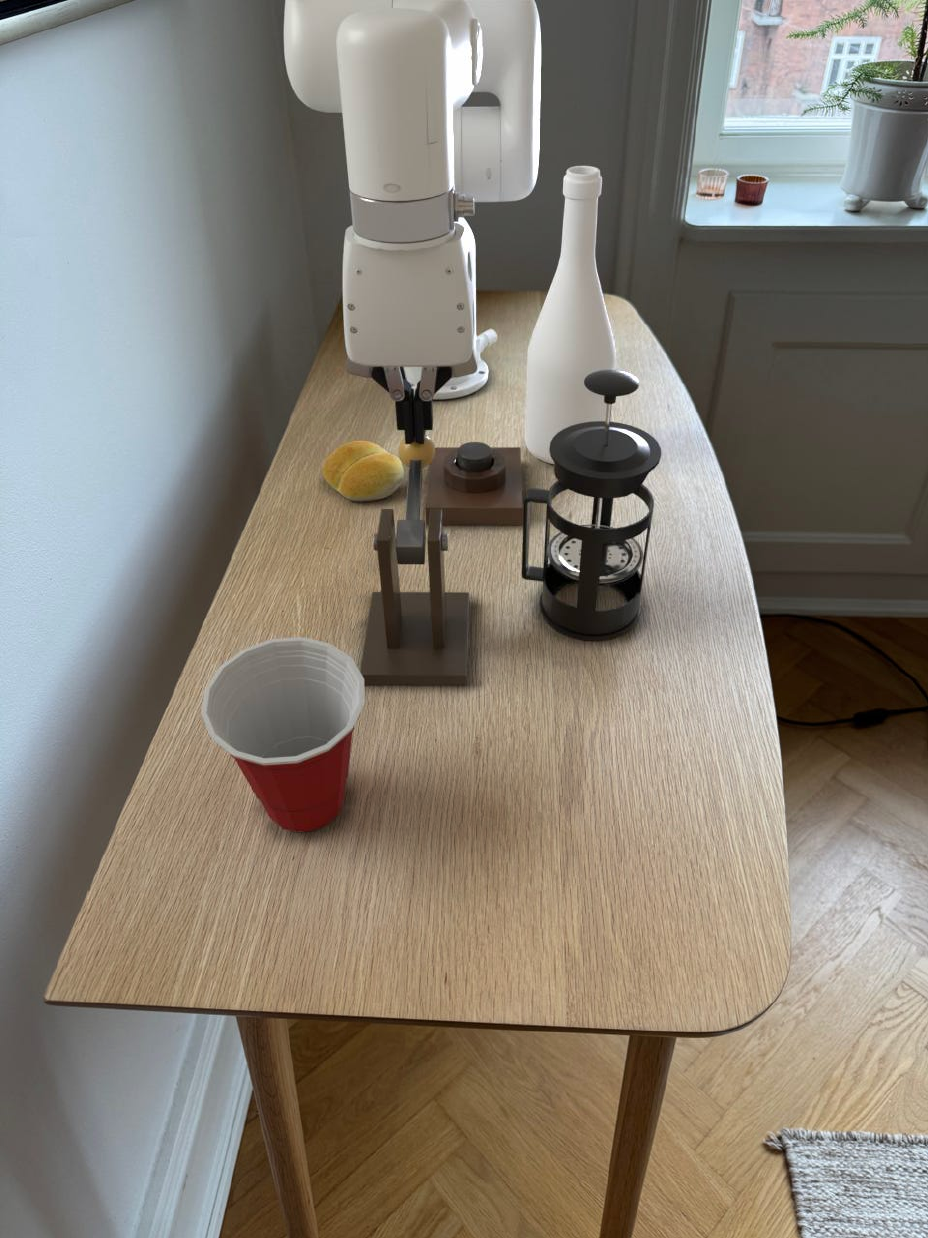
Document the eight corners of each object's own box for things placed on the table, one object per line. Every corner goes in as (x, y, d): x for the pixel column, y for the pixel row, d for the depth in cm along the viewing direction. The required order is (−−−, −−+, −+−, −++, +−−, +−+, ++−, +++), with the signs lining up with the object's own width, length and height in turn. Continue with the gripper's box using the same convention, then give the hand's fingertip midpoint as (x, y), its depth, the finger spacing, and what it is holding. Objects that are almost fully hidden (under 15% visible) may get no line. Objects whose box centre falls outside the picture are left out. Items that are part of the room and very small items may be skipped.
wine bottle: (507, 447, 107) (512, 170, 87) (561, 418, 111) (578, 150, 92) (569, 478, 101) (589, 191, 82) (623, 447, 106) (654, 169, 86)
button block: (431, 464, 104) (430, 432, 101) (519, 464, 104) (520, 432, 101) (426, 525, 95) (424, 492, 92) (522, 525, 95) (523, 493, 92)
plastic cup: (240, 882, 63) (205, 772, 55) (226, 766, 71) (194, 654, 63) (393, 844, 66) (380, 732, 58) (363, 735, 73) (348, 623, 65)
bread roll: (360, 513, 97) (357, 481, 94) (313, 479, 102) (309, 448, 99) (421, 484, 101) (419, 453, 98) (373, 453, 106) (370, 422, 103)
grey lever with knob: (401, 450, 82) (398, 424, 79) (436, 450, 82) (434, 424, 79) (392, 567, 75) (388, 543, 72) (431, 567, 75) (428, 543, 72)
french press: (652, 583, 87) (686, 356, 72) (643, 649, 80) (680, 414, 65) (530, 567, 89) (539, 344, 74) (512, 630, 83) (518, 398, 67)
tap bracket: (373, 601, 86) (361, 486, 77) (469, 602, 86) (467, 486, 77) (360, 685, 78) (345, 566, 69) (466, 685, 77) (464, 566, 69)
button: (458, 455, 98) (457, 441, 97) (491, 455, 98) (491, 441, 97) (457, 473, 96) (456, 459, 95) (491, 473, 96) (491, 459, 94)
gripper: (505, 196, 69) (502, 415, 81) (309, 198, 70) (335, 415, 82) (506, 229, 64) (503, 459, 76) (292, 231, 64) (323, 459, 76)
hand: (415, 435), depth 79 cm, fingers closed
